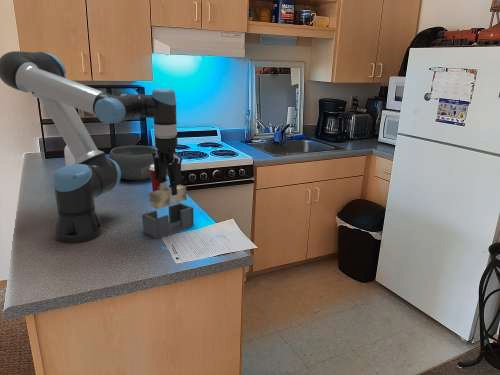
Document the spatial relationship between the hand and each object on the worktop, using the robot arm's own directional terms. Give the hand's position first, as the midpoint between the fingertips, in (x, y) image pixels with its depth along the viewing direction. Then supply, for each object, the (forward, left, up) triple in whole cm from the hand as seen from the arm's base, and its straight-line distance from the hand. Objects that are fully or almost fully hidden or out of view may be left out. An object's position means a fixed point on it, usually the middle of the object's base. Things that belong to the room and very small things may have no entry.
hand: (168, 201), depth 136 cm
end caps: (0, 0, -11) cm, 11 cm away
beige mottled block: (0, 0, -1) cm, 1 cm away
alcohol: (+1, +69, -11) cm, 70 cm away
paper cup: (+20, +32, -11) cm, 39 cm away
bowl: (+28, +62, -11) cm, 69 cm away
